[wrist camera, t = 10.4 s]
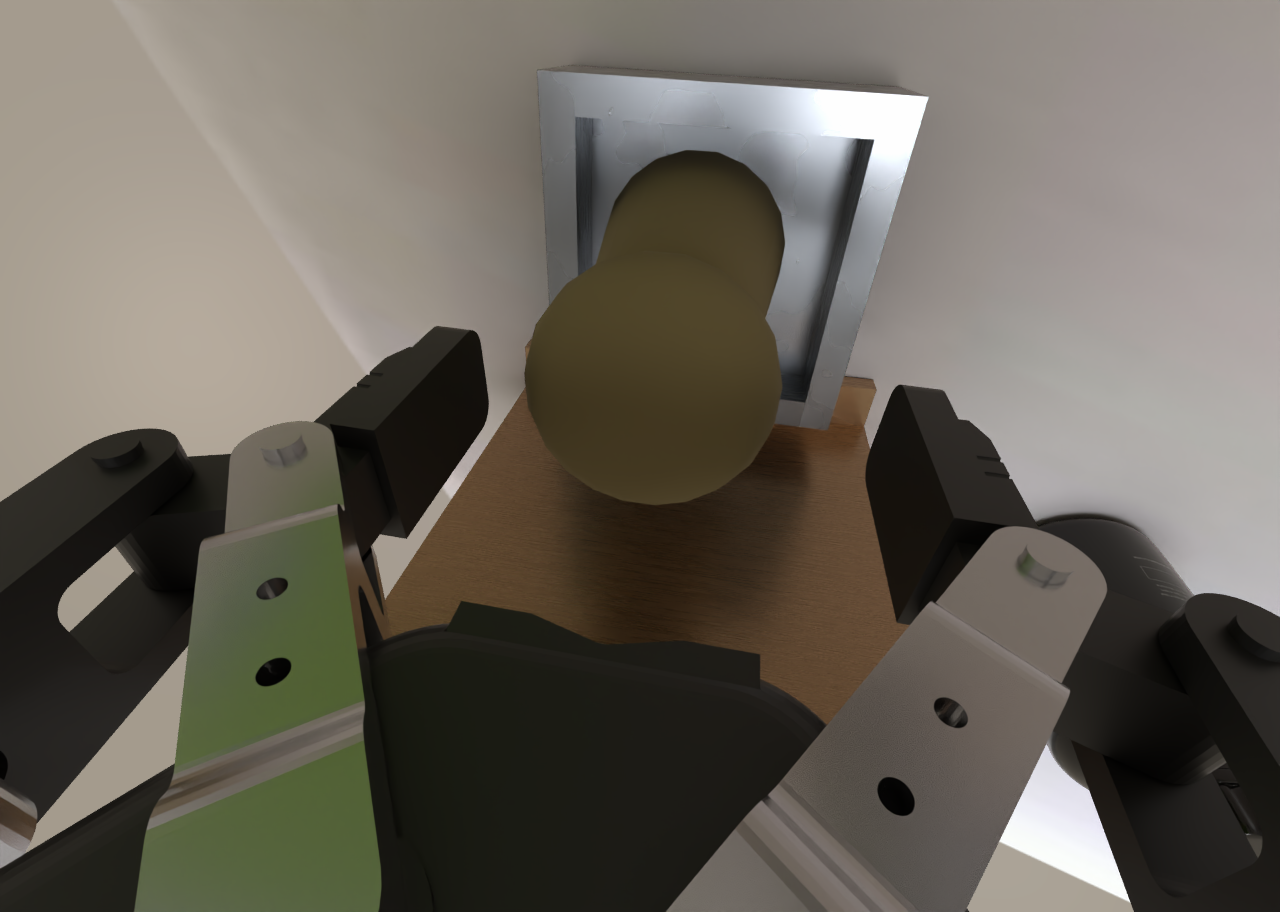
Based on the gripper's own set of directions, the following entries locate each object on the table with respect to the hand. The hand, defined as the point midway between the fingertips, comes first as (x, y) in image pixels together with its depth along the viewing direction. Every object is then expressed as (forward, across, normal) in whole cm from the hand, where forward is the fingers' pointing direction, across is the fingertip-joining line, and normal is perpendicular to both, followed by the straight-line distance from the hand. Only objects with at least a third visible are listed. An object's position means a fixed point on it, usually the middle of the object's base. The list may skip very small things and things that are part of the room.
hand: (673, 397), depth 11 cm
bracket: (+11, 0, +3) cm, 12 cm away
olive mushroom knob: (+10, +1, 0) cm, 10 cm away
